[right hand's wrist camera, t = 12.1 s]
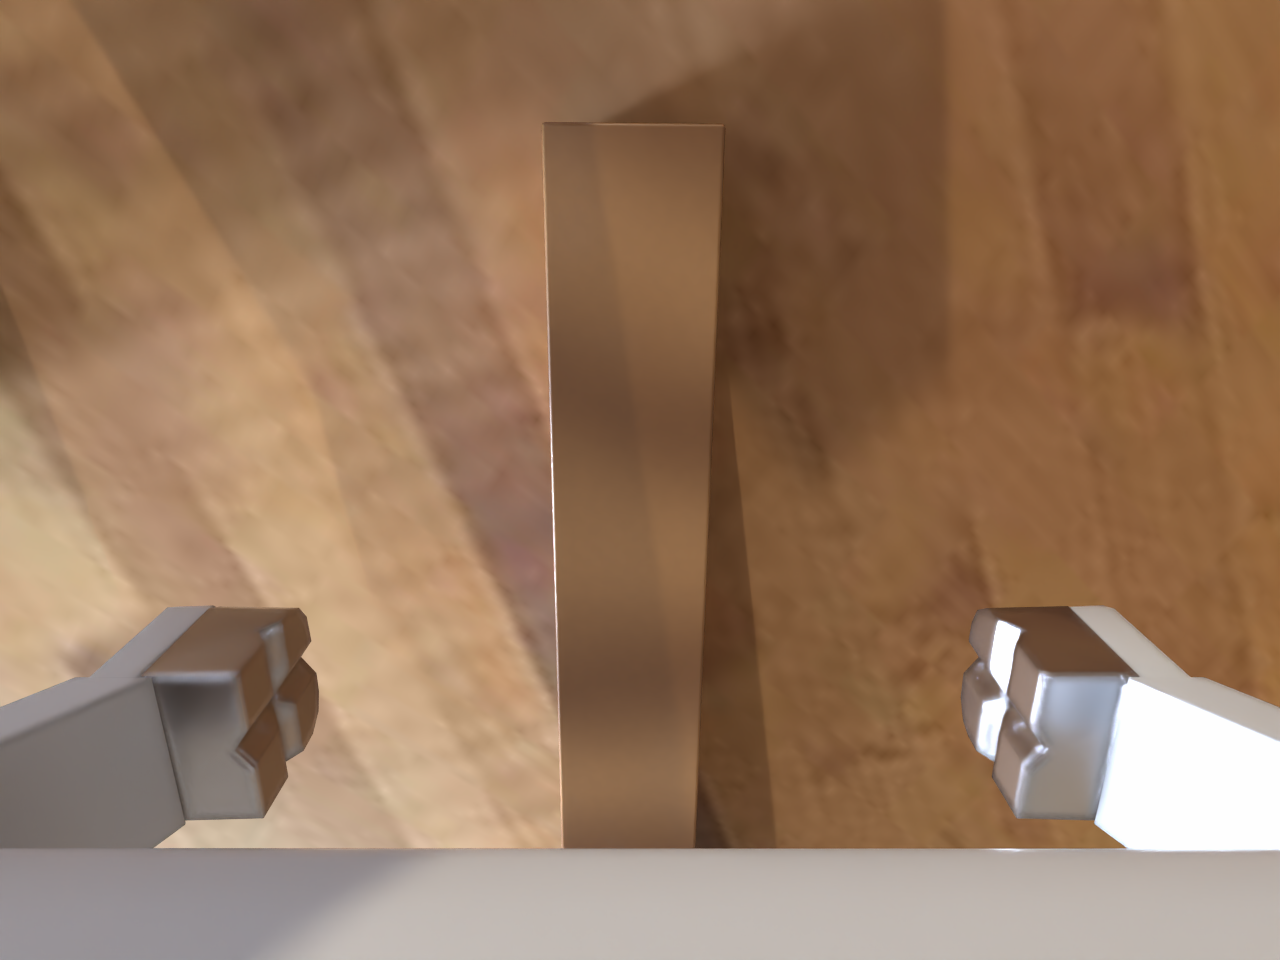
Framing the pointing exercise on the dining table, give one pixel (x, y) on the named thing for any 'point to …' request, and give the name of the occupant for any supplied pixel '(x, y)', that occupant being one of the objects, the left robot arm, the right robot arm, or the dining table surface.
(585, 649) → the post
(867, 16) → the dining table surface
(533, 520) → the dining table surface
